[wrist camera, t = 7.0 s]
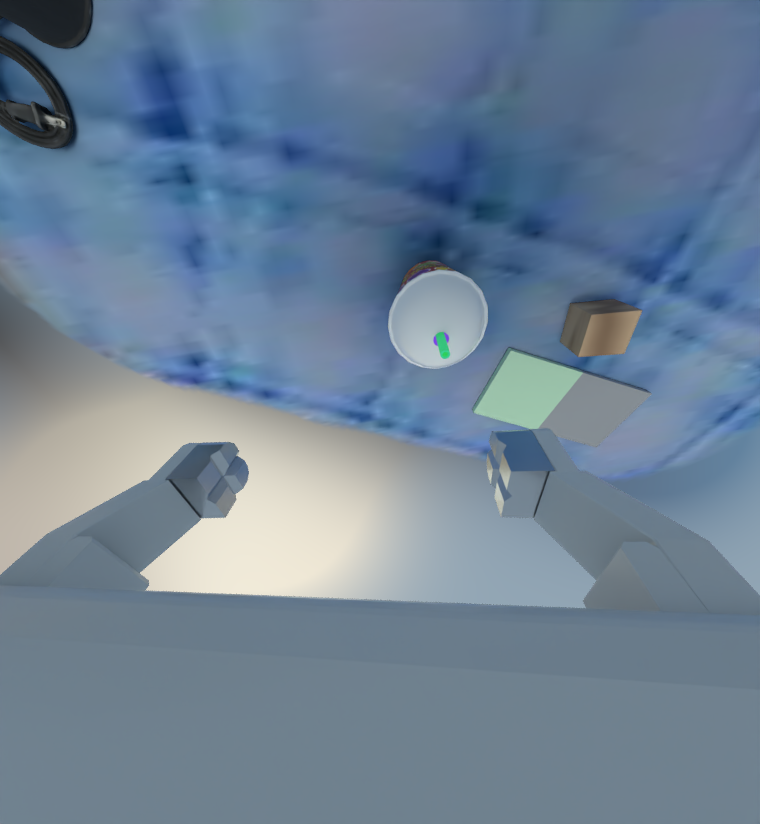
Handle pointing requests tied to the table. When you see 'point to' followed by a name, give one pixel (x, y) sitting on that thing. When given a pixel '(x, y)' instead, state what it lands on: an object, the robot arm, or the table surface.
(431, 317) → the smoothie
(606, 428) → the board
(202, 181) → the table surface
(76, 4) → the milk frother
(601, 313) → the walnut block
